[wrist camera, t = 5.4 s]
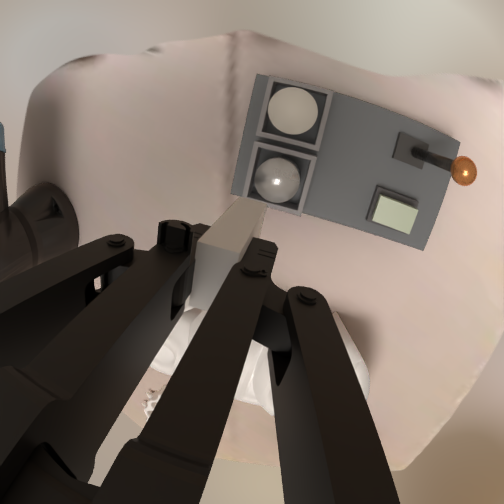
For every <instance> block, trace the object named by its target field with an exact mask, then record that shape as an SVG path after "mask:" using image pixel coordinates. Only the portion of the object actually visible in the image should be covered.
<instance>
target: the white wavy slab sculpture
mask: <svg viewBox="0 0 504 504" xmlns="http://www.w3.org/2000/svg"><path fill="white" fill-rule="evenodd" d="M189 298H190V295H189V296H188V298H187V299H186V301H185V309H184V313H183V314H182V316H181V317H180V319H179V321H178V322H177V324H176V325H175V327H174V328H173V330H172V331H171V333H170V334H169V336H168V338H167V339H166V341H165V342H164V344H163V345H162V347H161V349H160V350H159V352H158V353H157V355H156V356H155V358H154V360H153V361H152V363H151V364H150V367H152V368H153V369H155V370H157V371H159V372H161V373H163V374H167V375H173V373H174V371H175V369H176V367H177V365H178V364H179V362H180V360H181V358H182V356H183V355H184V353H185V351H186V349H187V347H188V345H189V344H190V342H191V340H192V338H193V336H194V335H195V333H196V331H197V329H198V327H199V325H200V324H201V322H202V320H203V318H204V316H205V315H206V313H207V311H204V310H201V309H198V308H195V307H192V306H189ZM332 315H333V317H334V320H335V322H336V325H337V327H338V330H339V332H340V334H341V337H342V339H343V342H344V344H345V347H346V349H347V352H348V355H349V357H350V360H351V362H352V365H353V367H354V370H355V373H356V375H357V378H358V380H359V383H360V386H361V388H362V391H363V394H364V396H365V399H366V400H367V398H368V394H369V389H370V378H369V373H368V369H367V366H366V364H365V362H364V360H363V358H362V356H361V355H360V353H359V351H358V349H357V347H356V345H355V344H354V342H353V340H352V338H351V336H350V335H349V333H348V331H347V329H346V328H345V326H344V324H343V322H342V320H341V319H340V317H339V315H338V313H337V312H334V313H332ZM267 352H268V348H267V347H265V346H263V345H261V344H260V343H258V342H256V341H254V340H252V341H251V345H250V348H249V351H248V355H247V358H246V361H245V364H244V368H243V371H242V374H241V377H240V381H239V384H238V387H237V390H236V393H235V397H234V399H236V400H239V401H243V402H246V403H250V404H254V405H259V406H262V407H263V408H264V409H265V410H266V411H267V412H268V413H269V414H270V415H271V416H274V407H273V399H272V390H271V382H270V373H269V365H268V357H267Z"/></svg>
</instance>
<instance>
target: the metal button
mask: <svg viewBox="0 0 504 504" xmlns="http://www.w3.org/2000/svg"><path fill="white" fill-rule="evenodd" d="M300 179H301V175H300V170H299V168H298V166H297V164H296V163H295V162H294V161H293V160H291V159H290V158H288V157H285V156H275V157H271V158H269V159H268V160H266V161H265V162H264V163H262V164H261V165H260V166H259V168H258V169H257V171H256V173H255V178H254V182H255V187H256V189H257V191H258V193H259V194H260V195H261V196H262V197H263V198H264V199H266V200H268V201H270V202H274V203H281V202H285V201H288V200H289V199H291V198H292V197H293V196H294V195H295V194H296V192H297V191H298V188H299V184H300Z"/></svg>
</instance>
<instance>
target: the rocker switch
mask: <svg viewBox="0 0 504 504" xmlns="http://www.w3.org/2000/svg"><path fill="white" fill-rule="evenodd" d="M417 213H418V209H417V208H416V207H413V206H411V205H408V204H406V203H403V202H401V201H398V200H395V199H393V198H390V197H387V196H385V195H382V194H379V198H378V201H377V204H376V207H375V209H374V212H373V215H372V221H375V222H378V223H380V224H383V225H386V226H388V227H391V228H394V229H396V230H399V231H402V232H404V233H407V234H410V231H411V229H412V226H413V224H414V221H415V218H416V216H417Z"/></svg>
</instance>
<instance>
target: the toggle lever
mask: <svg viewBox="0 0 504 504" xmlns="http://www.w3.org/2000/svg"><path fill="white" fill-rule="evenodd" d="M411 155H412V156H413V157H414V158H416V159H419V160H421V161H424V162H427V163H429V164H432V165H434V166H437V167H439V168H441V169H444V170H446V171H449V172H451V176H452V178H453V179H454V181H455V182H456V183H458V184H459V185H462V186H468V185H470V184H472V183H473V182H474V181H475V179H476V176H477V168H476V165H475V164H474V162H473V161H472V160H471V159H470V158H468V157H466V156H459V157H457V158H455V159H454V160H452V159H450V158H447V157H444V156H441V155H439V154H436V153H433V152H430V151H427V150H424V149H421V148H418V147H414V148H412V150H411Z"/></svg>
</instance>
